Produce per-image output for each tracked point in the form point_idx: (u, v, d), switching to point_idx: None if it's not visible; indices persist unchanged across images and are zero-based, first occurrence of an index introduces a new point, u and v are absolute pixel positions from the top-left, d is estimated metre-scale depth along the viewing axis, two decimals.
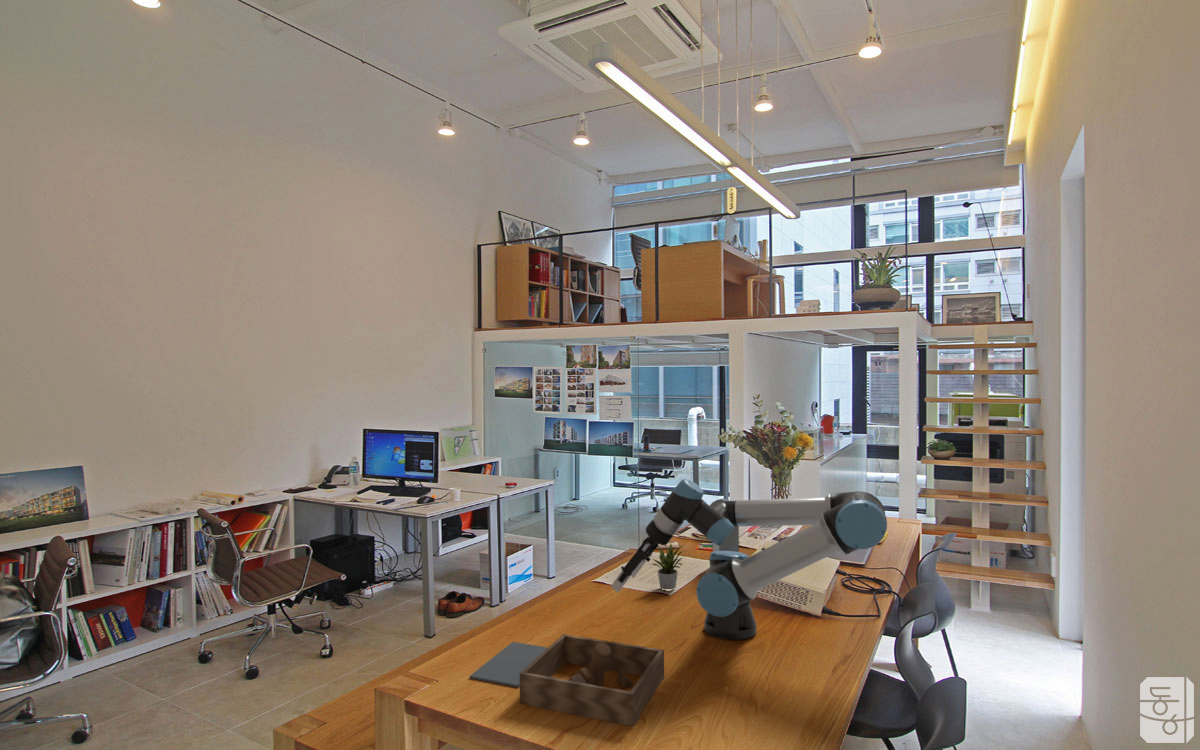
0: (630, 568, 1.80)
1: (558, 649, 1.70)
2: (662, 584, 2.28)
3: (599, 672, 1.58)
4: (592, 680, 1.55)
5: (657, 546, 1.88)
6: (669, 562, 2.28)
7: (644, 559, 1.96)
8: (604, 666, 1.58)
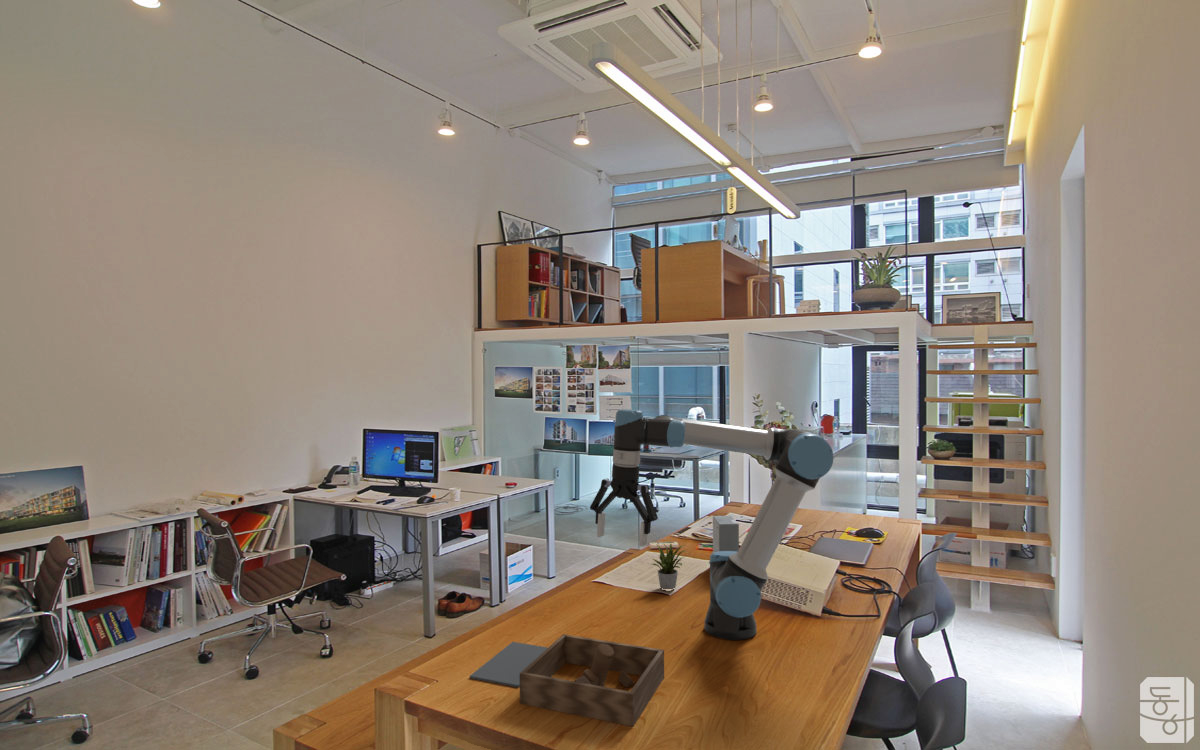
0: (654, 513, 1.77)
1: (558, 649, 1.70)
2: (662, 584, 2.28)
3: (601, 673, 1.58)
4: (596, 681, 1.54)
5: None
6: (669, 562, 2.28)
7: None
8: (607, 667, 1.57)
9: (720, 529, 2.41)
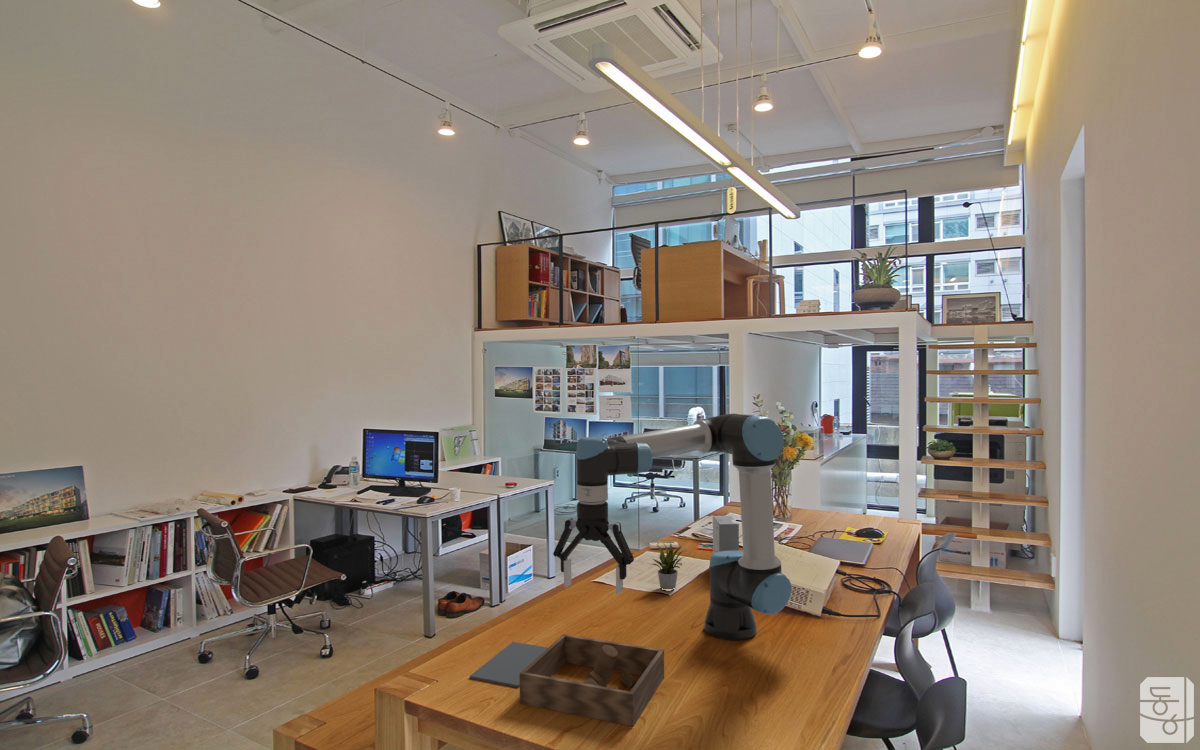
0: (630, 554, 1.55)
1: (558, 649, 1.70)
2: (662, 584, 2.28)
3: (606, 674, 1.57)
4: (601, 683, 1.53)
5: None
6: (669, 562, 2.28)
7: None
8: (611, 668, 1.57)
9: (720, 529, 2.41)
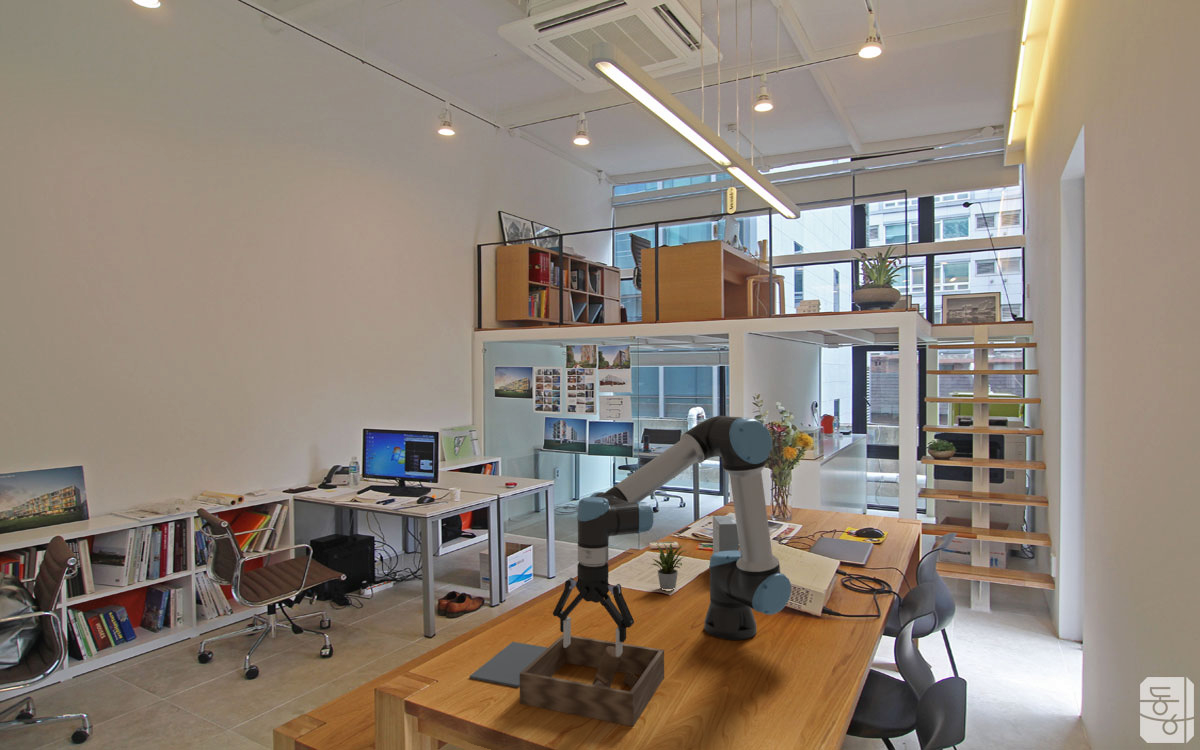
0: (630, 616, 1.55)
1: (558, 649, 1.70)
2: (662, 584, 2.28)
3: (610, 676, 1.56)
4: (608, 685, 1.53)
5: None
6: (669, 562, 2.28)
7: (567, 617, 1.61)
8: (615, 669, 1.56)
9: (720, 529, 2.41)
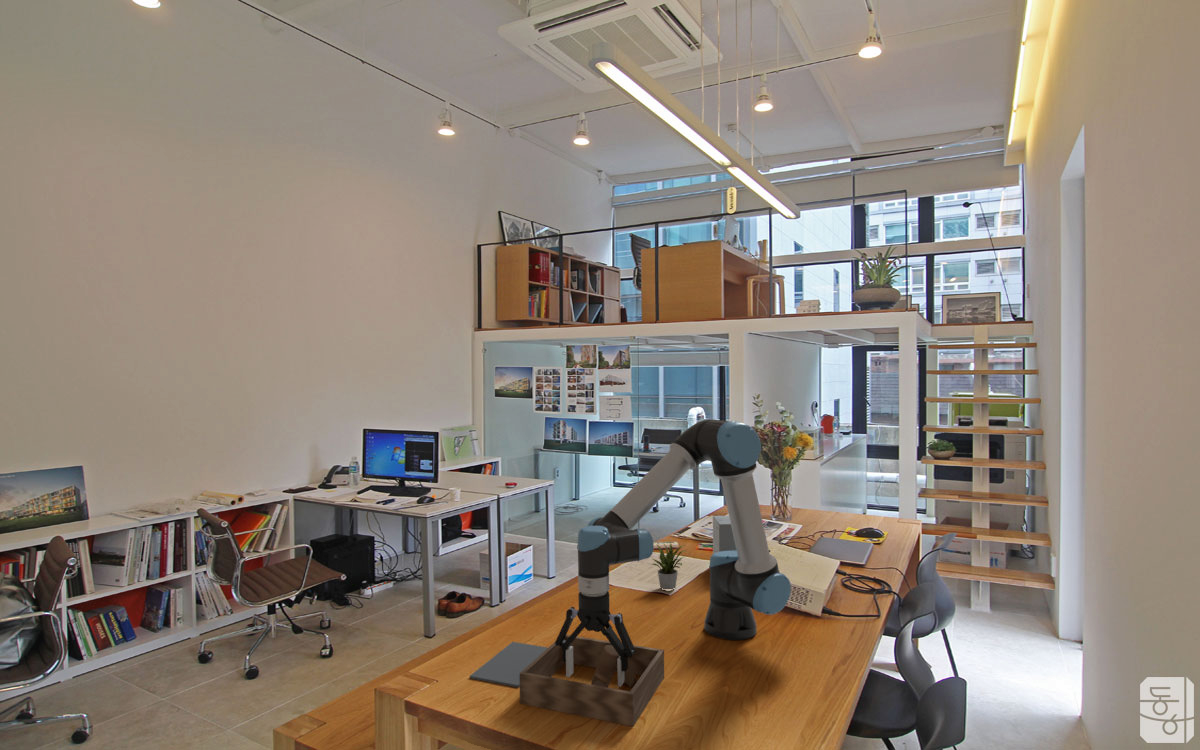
0: (631, 646, 1.55)
1: (558, 649, 1.70)
2: (662, 584, 2.28)
3: (608, 675, 1.56)
4: (607, 684, 1.53)
5: None
6: (669, 562, 2.28)
7: None
8: (614, 668, 1.56)
9: (720, 529, 2.41)
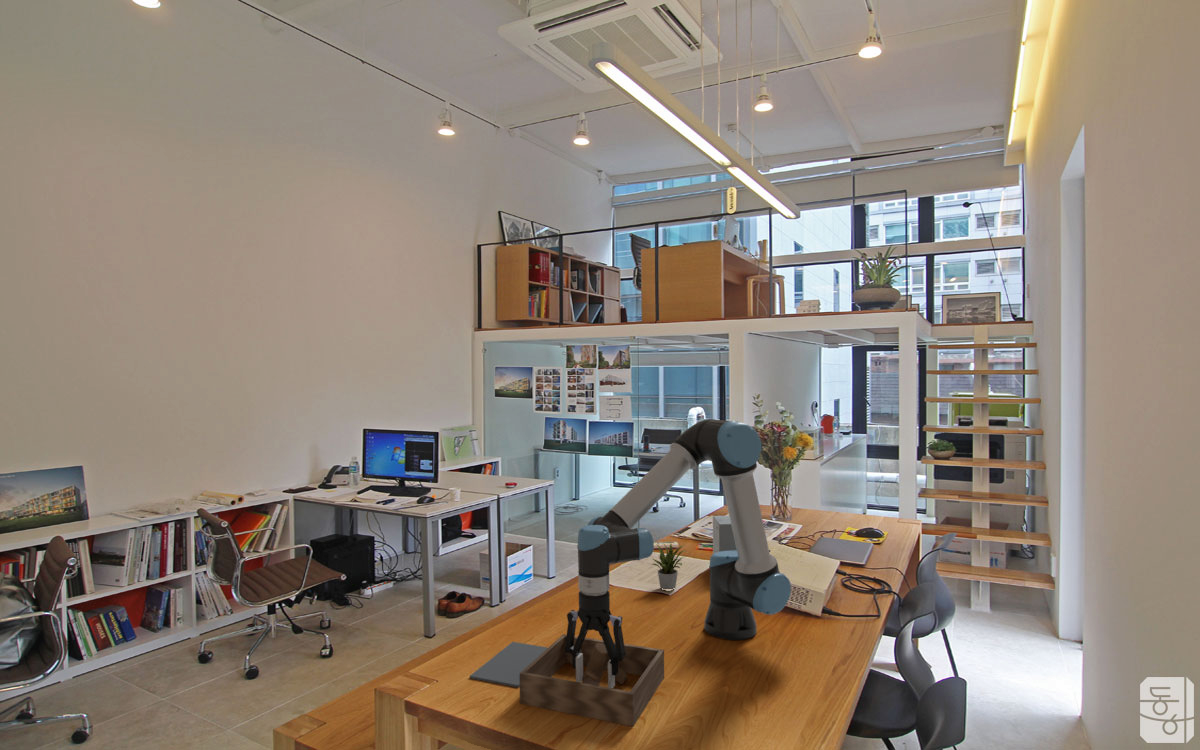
0: (623, 650, 1.56)
1: (558, 649, 1.70)
2: (662, 584, 2.28)
3: (599, 673, 1.57)
4: (598, 681, 1.54)
5: None
6: (669, 562, 2.28)
7: None
8: (605, 666, 1.57)
9: (720, 529, 2.41)
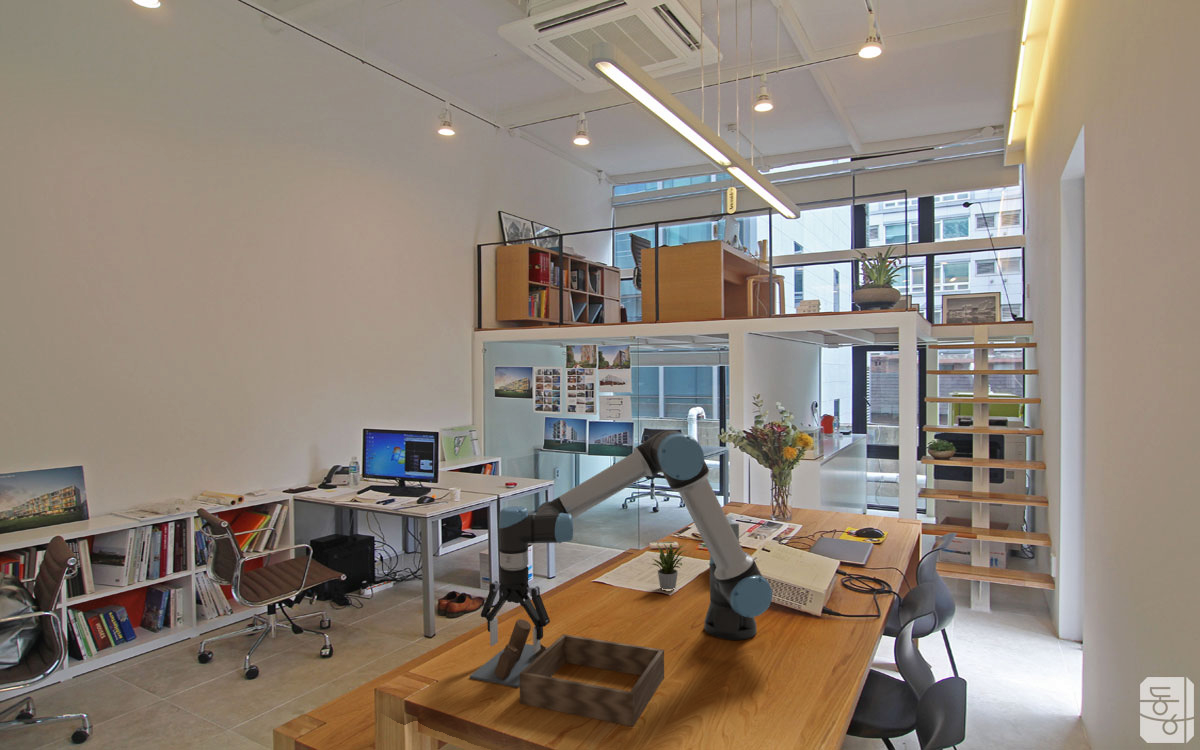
0: (546, 616, 1.69)
1: (558, 649, 1.70)
2: (662, 584, 2.28)
3: (520, 646, 1.72)
4: (517, 654, 1.68)
5: None
6: (669, 562, 2.28)
7: (494, 618, 1.76)
8: (525, 640, 1.72)
9: None
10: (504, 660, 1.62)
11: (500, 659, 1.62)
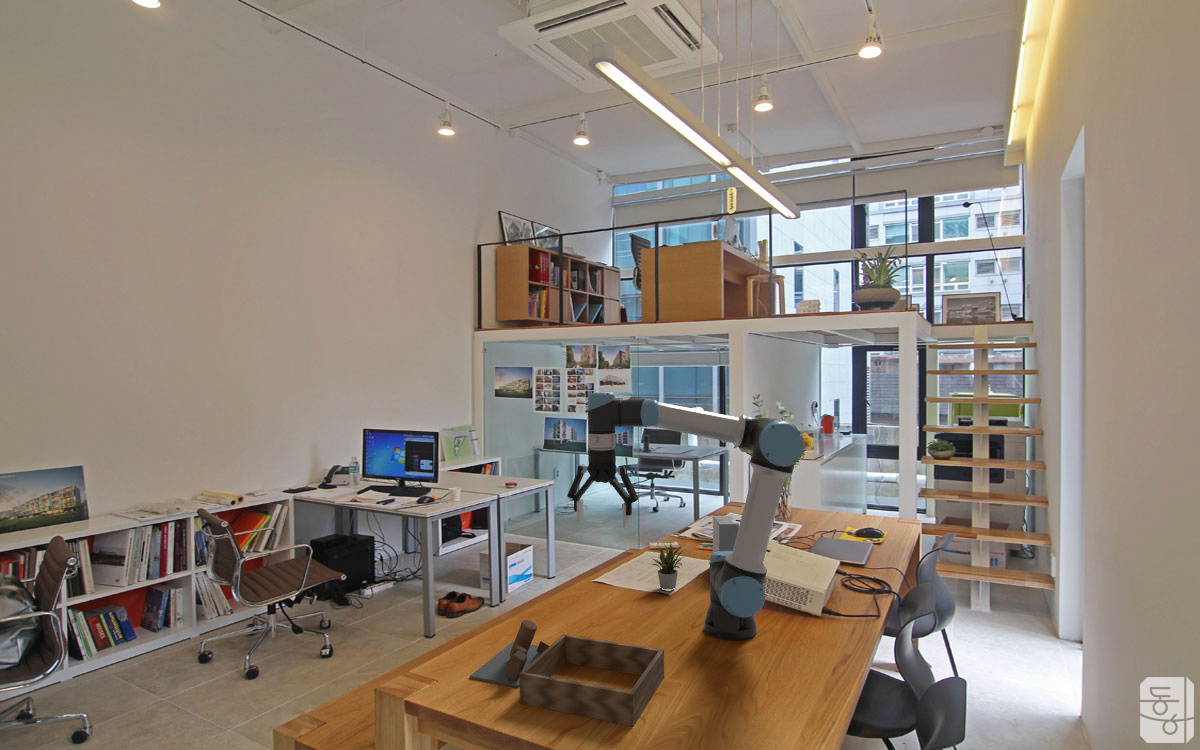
0: (635, 493, 1.77)
1: (558, 649, 1.70)
2: (662, 584, 2.28)
3: (526, 647, 1.71)
4: (525, 654, 1.68)
5: None
6: (669, 562, 2.28)
7: (579, 499, 1.83)
8: (531, 640, 1.72)
9: (720, 529, 2.41)
10: (516, 661, 1.61)
11: (512, 661, 1.61)
